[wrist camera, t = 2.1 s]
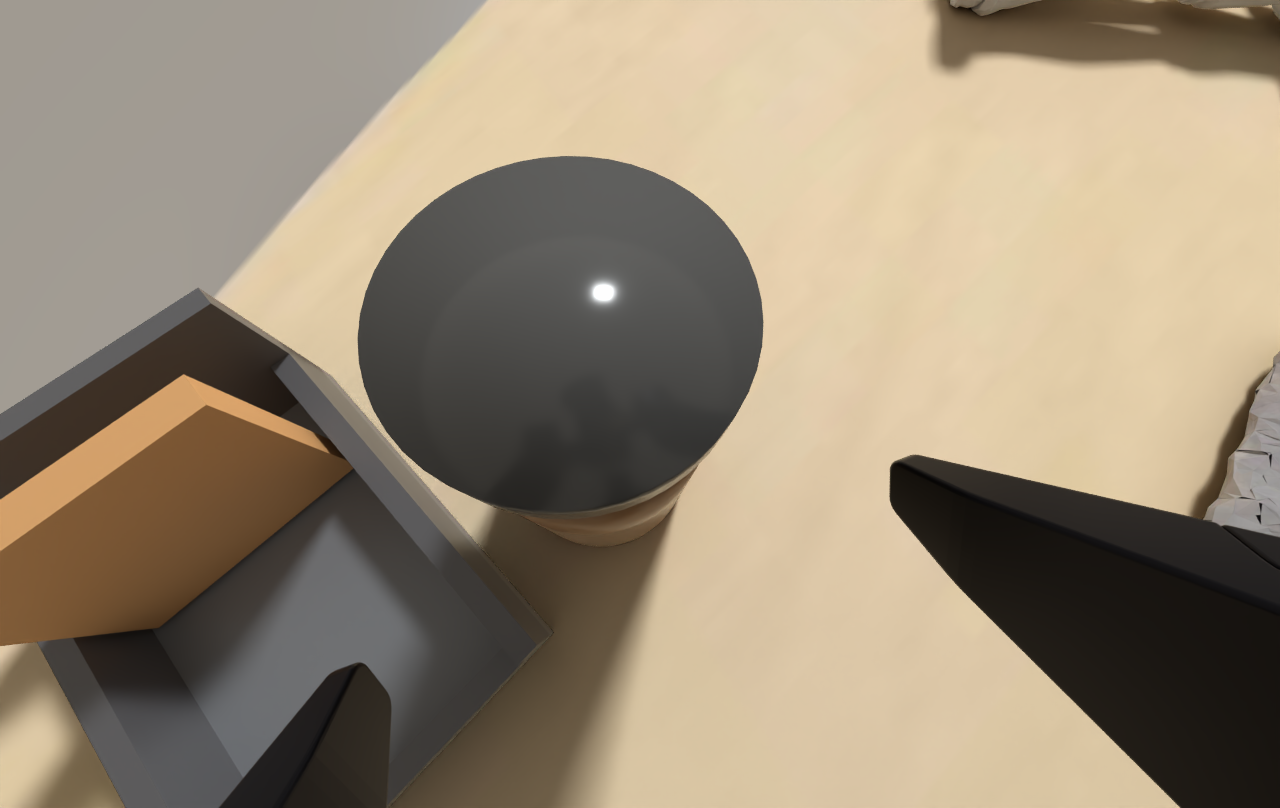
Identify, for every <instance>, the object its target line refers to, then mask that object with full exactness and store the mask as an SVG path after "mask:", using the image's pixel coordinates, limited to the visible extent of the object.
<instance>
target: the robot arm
mask: <svg viewBox="0 0 1280 808" xmlns="http://www.w3.org/2000/svg"><path fill="white" fill-rule="evenodd" d="M890 502H891V505H892V508H893V509H894V511H895V512H896V514H897V515H898V516H899V517H900V519H901V520H902V521H903V522H904V523H905V524H906V526H907V527H908V528H909V529H910V530H911V532H912V533H913V534H914V535H915V536H916V538H917V539H918V540H919V541H920V542H921V544H922V545H923V546H924V547H925V548H926V550H927V551H928V552H929V553H930V554H931V556H932V557H933V558H934V559H935V560H936V562H937V563H938V564H939V565H940V566H941V567H942V569H943V570H944V571H945V572H946V573H947V575H948V576H949V577H950V578H951V579H952V580H953V581H954V582H955V584H956V585H957V586H958V587H959V588H960V589H961V590H962V591H963V592H964V593H965V594H966V595H967V596H968V597H969V598H970V599H971V600H972V601H973V602H974V603H975V604H976V605H977V606H978V607H979V608H980V609H981V610H982V611H983V612H984V613H985V614H986V615H987V616H988V617H989V618H990V619H991V620H992V621H993V622H994V623H995V624H996V625H997V626H998V627H999V628H1000V629H1001V630H1002V631H1003V632H1004V633H1005V634H1006V635H1007V636H1008V637H1009V638H1010V639H1011V640H1012V641H1013V642H1014V643H1015V644H1016V645H1017V646H1018V647H1019V648H1020V649H1021V650H1022V651H1023V652H1024V653H1025V654H1026V655H1027V656H1028V657H1029V658H1030V659H1031V660H1032V661H1033V662H1034V663H1035V664H1036V665H1037V666H1038V667H1039V668H1040V669H1041V670H1042V671H1043V672H1044V673H1045V674H1046V675H1047V676H1048V677H1049V678H1050V679H1051V680H1052V681H1053V682H1054V683H1055V684H1056V685H1057V686H1058V687H1059V688H1060V689H1061V690H1062V691H1063V692H1064V693H1065V694H1066V695H1067V696H1068V697H1070V698H1071V699H1072V700H1073V701H1074V702H1075V703H1076V704H1077V705H1078V706H1079V707H1080V708H1081V709H1082V710H1083V711H1084V712H1085V713H1086V714H1087V715H1088V716H1089V717H1090V718H1091V719H1092V720H1093V721H1094V722H1095V723H1096V724H1097V725H1098V726H1099V727H1100V728H1101V729H1102V730H1103V731H1104V732H1105V733H1106V734H1107V735H1108V736H1109V737H1110V738H1111V739H1112V740H1113V741H1114V742H1115V743H1116V744H1117V745H1118V746H1119V747H1120V748H1121V749H1122V750H1123V751H1124V752H1125V753H1126V754H1127V755H1128V756H1129V757H1130V758H1131V759H1132V760H1133V761H1134V762H1135V763H1136V764H1137V765H1138V766H1139V767H1140V768H1141V769H1142V770H1143V771H1144V772H1145V773H1146V774H1147V775H1148V776H1149V777H1150V778H1151V779H1152V780H1153V781H1154V782H1155V783H1156V784H1157V785H1158V786H1159V787H1160V788H1161V789H1162V790H1163V791H1164V792H1165V793H1166V794H1167V795H1168V796H1169V797H1170V798H1171V799H1172V800H1173V801H1174V802H1175V803H1176V804H1177V805H1178V806H1179V807H1180V808H1280V537H1278V536H1274V535H1269V534H1265V533H1260V532H1256V531H1252V530H1247V529H1243V528H1239V527H1234V526H1230V525H1222V526H1220V525H1219V524H1217V523H1215V522H1212V521H1207V520H1203V519H1198V518H1194V517H1190V516H1185V515H1181V514H1176V513H1172V512H1168V511H1163V510H1159V509H1154V508H1150V507H1146V506H1141V505H1137V504H1132V503H1128V502H1123V501H1119V500H1115V499H1110V498H1106V497H1101V496H1097V495H1093V494H1088V493H1084V492H1079V491H1075V490H1071V489H1066V488H1062V487H1057V486H1053V485H1048V484H1044V483H1040V482H1035V481H1031V480H1026V479H1022V478H1018V477H1013V476H1009V475H1004V474H1000V473H996V472H991V471H987V470H982V469H978V468H974V467H969V466H965V465H960V464H956V463H951V462H947V461H943V460H938V459H934V458H929V457H925V456H921V455H910V456H907V457H905V458H902V459H899V460H897V461H895V462H893V463H892V465H891V467H890ZM391 714H392V706H391V700H390V696H389V694H388V692H387V691H386V689H385V688H384V687H383V685H382V684H381V683H380V682H379V680H378V679H377V678H376V676H375V675H374V674H373V673H372V671H371V670H370V669H369V668H368V666H367V665H366V664H364V663H361V662H358V663H354V664H351V665H348V666H346V667H343V668H340V669H338V670H335V671H333V672H332V673H330V674H329V675H328V676H327V677H326V678H325V679H324V681H323V682H322V683H321V684H320V685H319V687H318V688H317V689H316V690H315V691H314V693H313V694H312V695H311V696H310V698H309V699H308V700H307V701H306V702H305V704H304V705H303V706H302V707H301V708H300V710H299V711H298V712H297V713H296V715H295V716H294V717H293V718H292V719H291V721H290V722H289V723H288V724H287V725H286V727H285V728H284V729H283V730H282V731H281V733H280V734H279V735H278V736H277V738H276V739H275V740H274V741H273V742H272V744H271V745H270V746H269V747H268V748H267V750H266V751H265V752H264V753H263V755H262V756H261V757H260V758H259V759H258V761H257V762H256V763H255V764H254V765H253V767H252V768H251V769H250V770H249V771H248V773H247V774H246V775H245V776H244V778H243V779H242V780H241V781H240V782H239V784H238V785H237V786H236V787H235V788H234V790H233V791H232V792H231V793H230V795H229V796H228V797H227V798H226V799H225V801H224V802H223V803H222V804H221V805H220V807H219V808H387V796H388V776H389V755H390V735H391Z"/></svg>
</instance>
